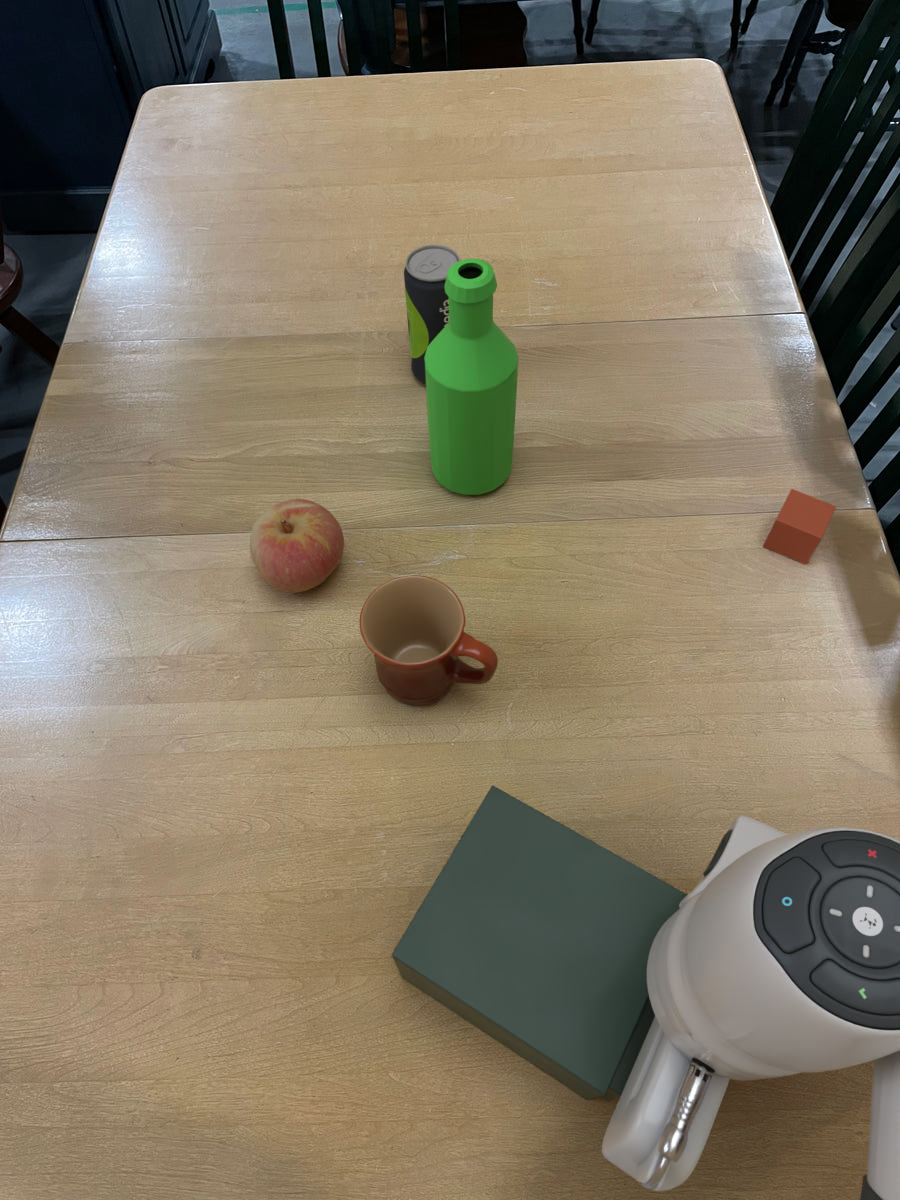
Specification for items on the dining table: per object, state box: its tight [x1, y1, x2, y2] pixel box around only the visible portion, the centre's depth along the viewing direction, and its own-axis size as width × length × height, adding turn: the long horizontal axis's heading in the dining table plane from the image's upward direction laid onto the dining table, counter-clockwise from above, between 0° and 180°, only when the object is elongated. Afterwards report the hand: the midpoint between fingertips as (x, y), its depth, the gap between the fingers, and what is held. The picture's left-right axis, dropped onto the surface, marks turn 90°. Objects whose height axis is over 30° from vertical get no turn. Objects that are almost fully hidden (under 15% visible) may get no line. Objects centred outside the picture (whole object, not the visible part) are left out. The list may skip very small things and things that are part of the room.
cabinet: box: [391, 785, 688, 1101], centre depth 62 cm, size 16×14×10 cm
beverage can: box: [403, 244, 462, 385], centre depth 94 cm, size 6×6×15 cm
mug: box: [359, 574, 499, 707], centre depth 74 cm, size 12×9×10 cm
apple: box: [249, 498, 345, 593], centre depth 82 cm, size 9×9×8 cm
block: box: [763, 488, 837, 565], centre depth 84 cm, size 4×4×4 cm
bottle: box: [424, 258, 519, 496], centre depth 82 cm, size 9×9×25 cm
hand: (676, 1010), depth 56 cm, fingers closed, pressing on drawer
